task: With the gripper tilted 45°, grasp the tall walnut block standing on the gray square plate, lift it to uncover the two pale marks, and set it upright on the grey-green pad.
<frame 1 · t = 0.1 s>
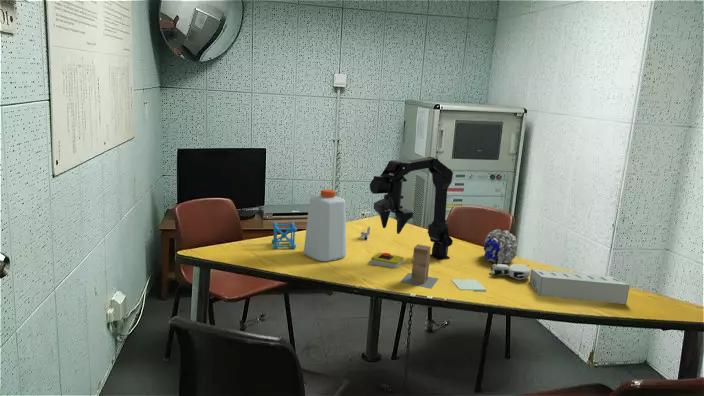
hand: (391, 230, 198), 15 cm above the table, tool pointing down, fingers open, 9 cm apart
educational model: (498, 260, 217), on the table
robot toy: (509, 276, 197), on the table
architectural model: (357, 242, 234), on the table
emergency button: (387, 265, 203), on the table
walnut block: (419, 280, 185), resting on gray square plate
plastic bottle: (324, 256, 208), on the table
gray square plate: (419, 281, 185), on the table
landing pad: (468, 285, 183), on the table
molecular structure: (283, 246, 218), on the table
warehouse: (575, 294, 183), on the table
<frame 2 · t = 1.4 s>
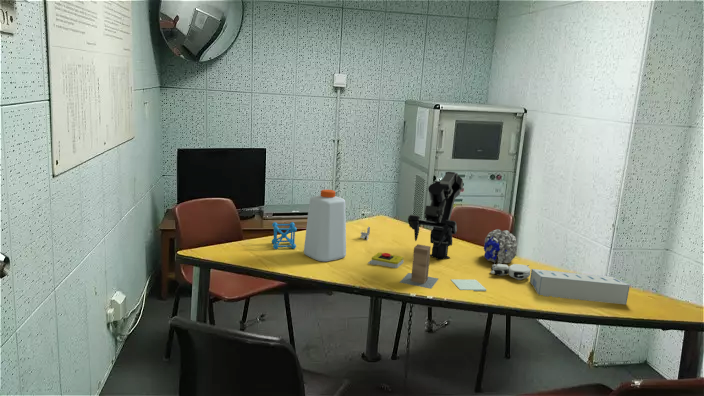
hand: (427, 242, 189), 13 cm above the table, tool tilted 45°, fingers open, 9 cm apart
nothing on the table moved.
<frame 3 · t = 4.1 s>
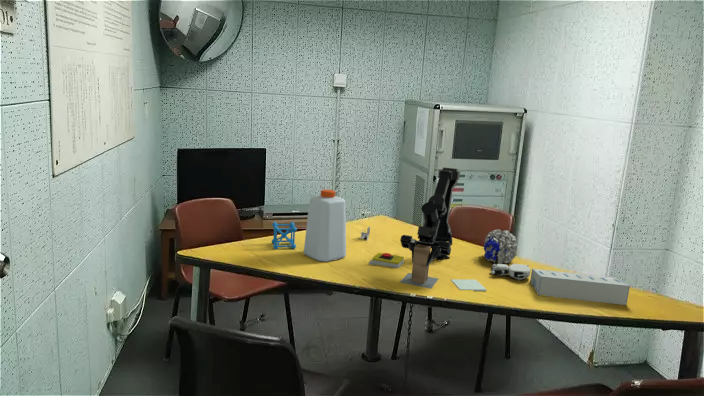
hand: (419, 264, 182), 7 cm above the table, tool tilted 45°, fingers closed on walnut block, 5 cm apart
walnut block: (419, 280, 185), resting on gray square plate, touching gripper
everything else where it was.
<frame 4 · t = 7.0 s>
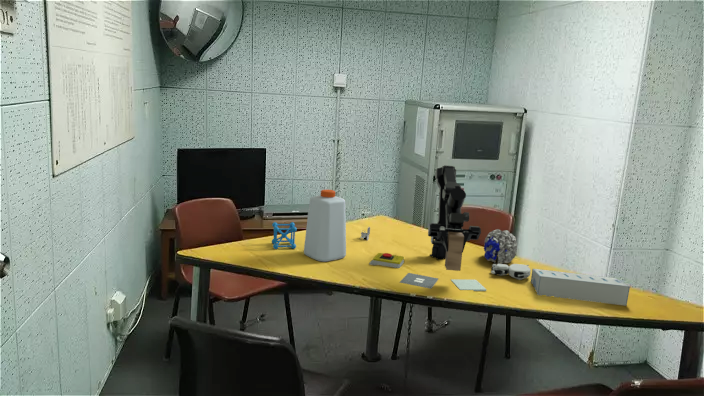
hand: (454, 251, 179), 13 cm above the table, tool tilted 45°, fingers closed on walnut block, 5 cm apart
walnut block: (452, 268, 181), point 7 cm above the table, touching gripper
everything else where it was.
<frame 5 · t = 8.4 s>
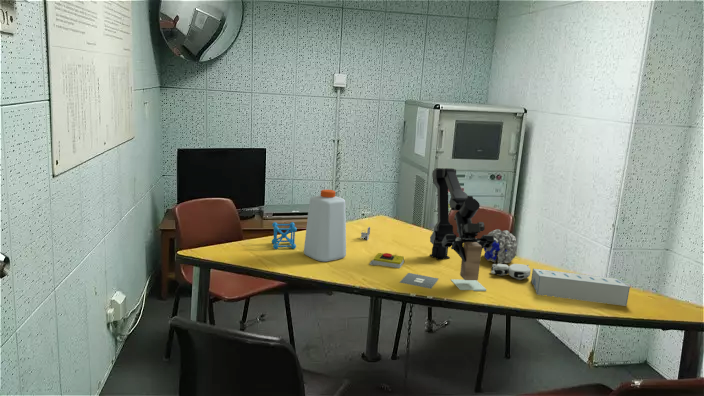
hand: (472, 261, 180), 10 cm above the table, tool tilted 45°, fingers closed on walnut block, 5 cm apart
walnut block: (468, 277, 183), point 3 cm above the table, touching gripper
when the fingers open (8 cm above the table, at t = 9.5 s): walnut block stays where it is, resting on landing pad.
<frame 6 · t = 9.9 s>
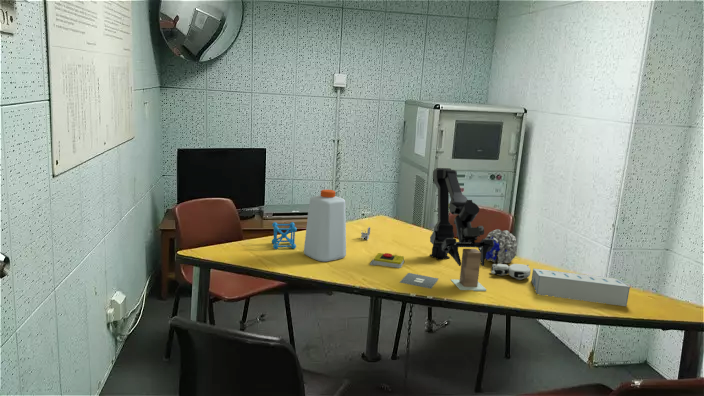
hand: (471, 265, 180), 8 cm above the table, tool tilted 45°, fingers open, 9 cm apart
walnut block: (468, 284, 183), point 1 cm above the table, touching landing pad
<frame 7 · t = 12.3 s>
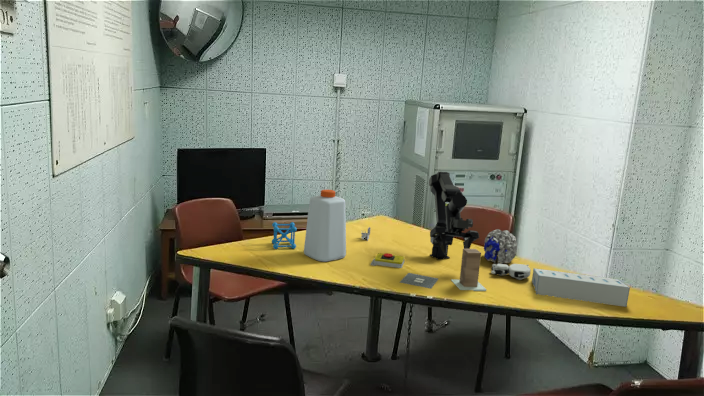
hand: (455, 255, 190), 9 cm above the table, tool tilted 35°, fingers open, 9 cm apart
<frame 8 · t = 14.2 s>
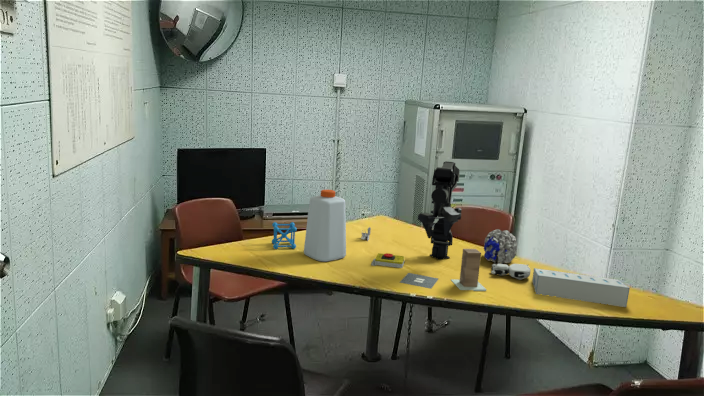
hand: (437, 237, 199), 13 cm above the table, tool pointing down, fingers open, 9 cm apart
at the end: walnut block 0.0 cm off-centre on the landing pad, point 0.6 cm above the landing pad's base; walnut block tilted 0°; walnut block touching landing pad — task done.
